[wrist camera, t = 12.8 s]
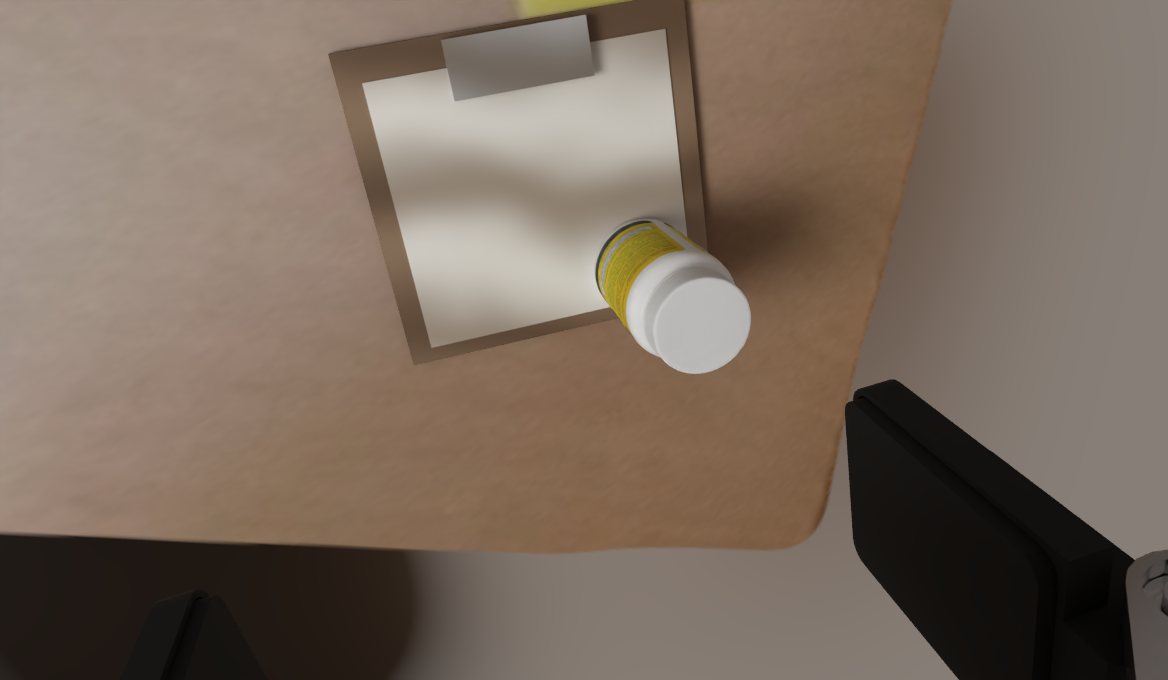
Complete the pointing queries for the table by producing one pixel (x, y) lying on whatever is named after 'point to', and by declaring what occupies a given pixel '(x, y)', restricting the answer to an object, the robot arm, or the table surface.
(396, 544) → the table surface
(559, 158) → the clipboard
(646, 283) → the supplement bottle
